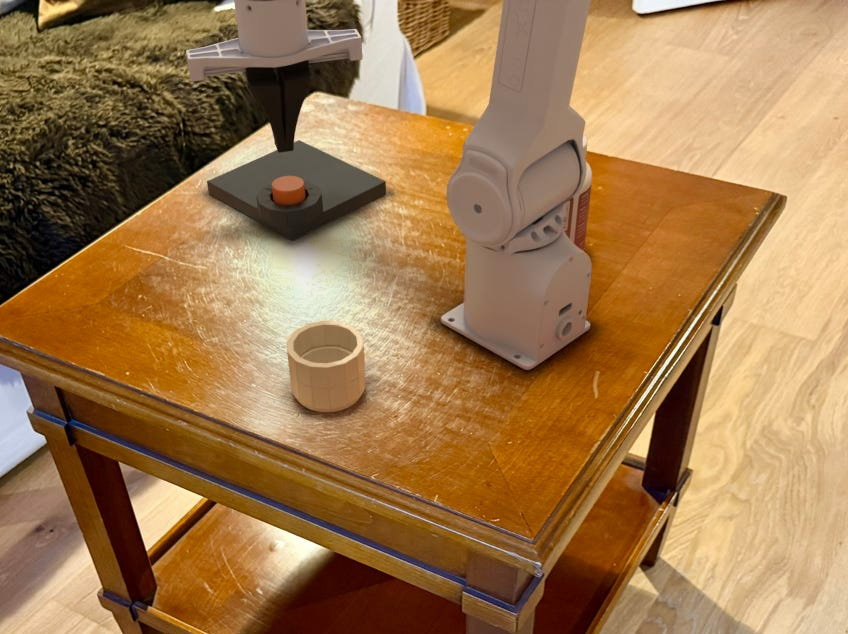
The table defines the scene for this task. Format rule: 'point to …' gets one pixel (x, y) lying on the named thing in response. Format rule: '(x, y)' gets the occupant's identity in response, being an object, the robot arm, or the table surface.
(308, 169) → the scale
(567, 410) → the table surface
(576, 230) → the pill bottle
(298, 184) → the button
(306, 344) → the beige hollow cylinder
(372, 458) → the table surface
